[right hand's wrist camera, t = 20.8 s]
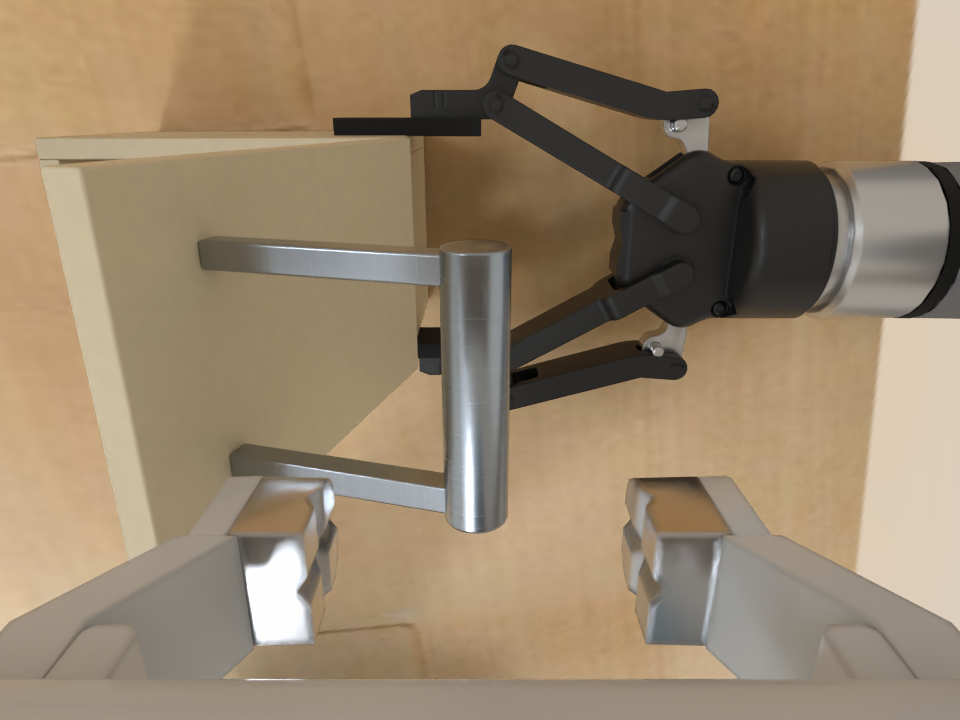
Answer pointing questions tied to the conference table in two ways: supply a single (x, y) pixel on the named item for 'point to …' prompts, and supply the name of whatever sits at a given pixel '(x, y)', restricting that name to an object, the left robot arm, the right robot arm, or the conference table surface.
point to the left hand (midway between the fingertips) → (347, 240)
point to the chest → (215, 141)
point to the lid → (275, 327)
